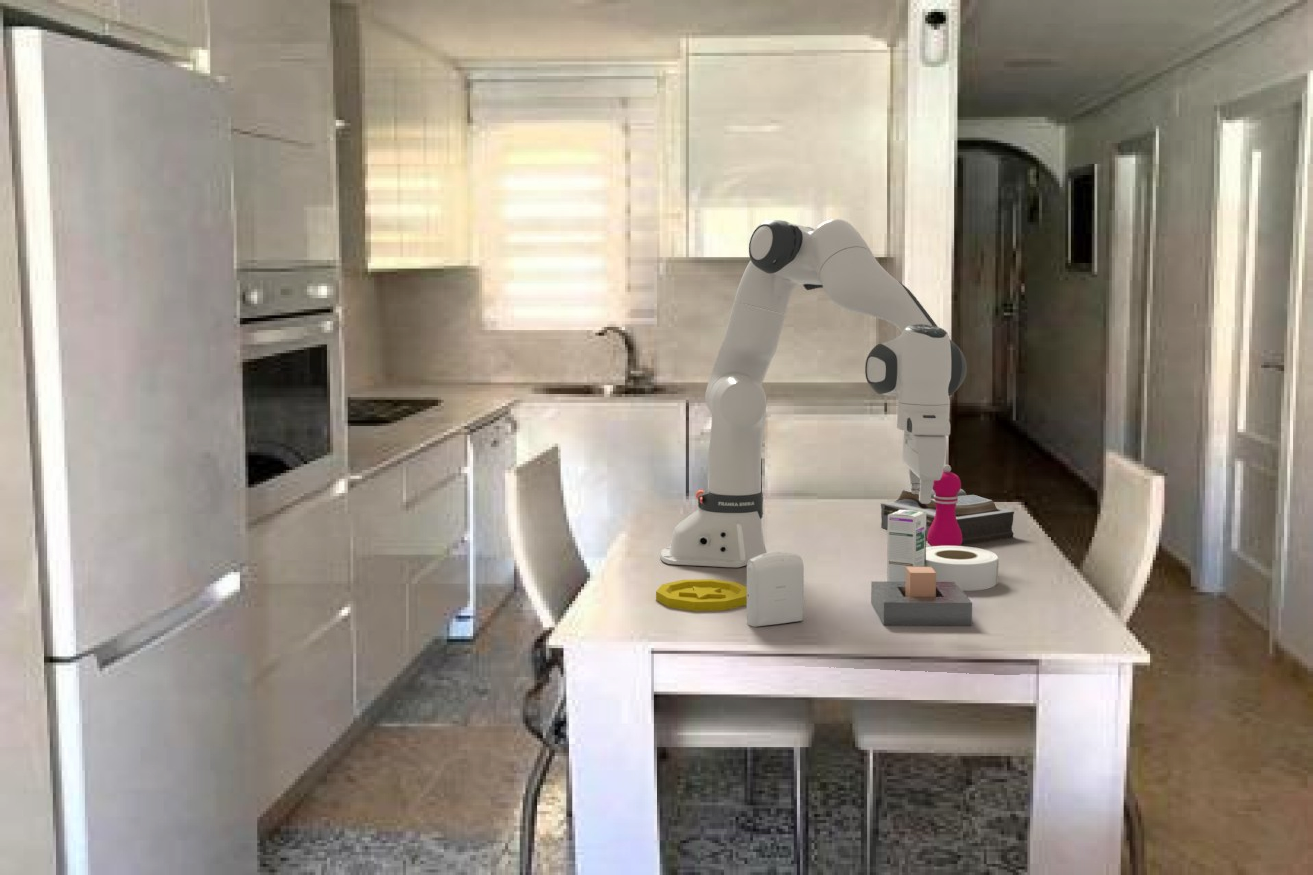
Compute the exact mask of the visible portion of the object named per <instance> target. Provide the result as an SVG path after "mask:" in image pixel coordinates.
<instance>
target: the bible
mask: <svg viewBox="0 0 1313 875" xmlns="http://www.w3.org/2000/svg"><path fill="white" fill-rule="evenodd" d="M935 494H936V493H935V492H934V490H933V489H932V493H931V502H930V503H929V504H922V503H921V502H920V501H919V494H912V493H911V492H910V489H903V490H902V491H901V493H900V494H899V497H898V498H897V499H896V500H895V501H893V500H892V501H887V502H881V503H880V508H881V512H880V513H881V514H880V515H881V517H880V518H881V522H880V528H881V529H885V530H888V515H889V514H892V513H894V512H897V511H898V510H916V511H922V512H926V539H927V535H928V531H929V528H930V527H931V525H932V523H933V520H934V518H935V514H936V502H934V495H935ZM957 496H958V498H957V499H958V503H956V507H955V516H956V520H957V523H958V525H959V527H960V530H961V533H962V543H961V545H960V546H963V545H971V544H977V543H978V544H979V543H984V542H990V541H998V540H999V541H1000V540H1006V539H1013V538H1014V532H1013V530H1012V529H1013V525H1014V523H1013V522H1014V514H1015V511H1014V510H1010V509H1006V508H1002V507H999V506H996V505H995V502H994V501H993V500H992V499H988V498H985V497H981V496H978V495H975V494H967V493H966V491H965V490H964V489H962V488H960V490H959V492H958V493H957Z"/></svg>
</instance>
